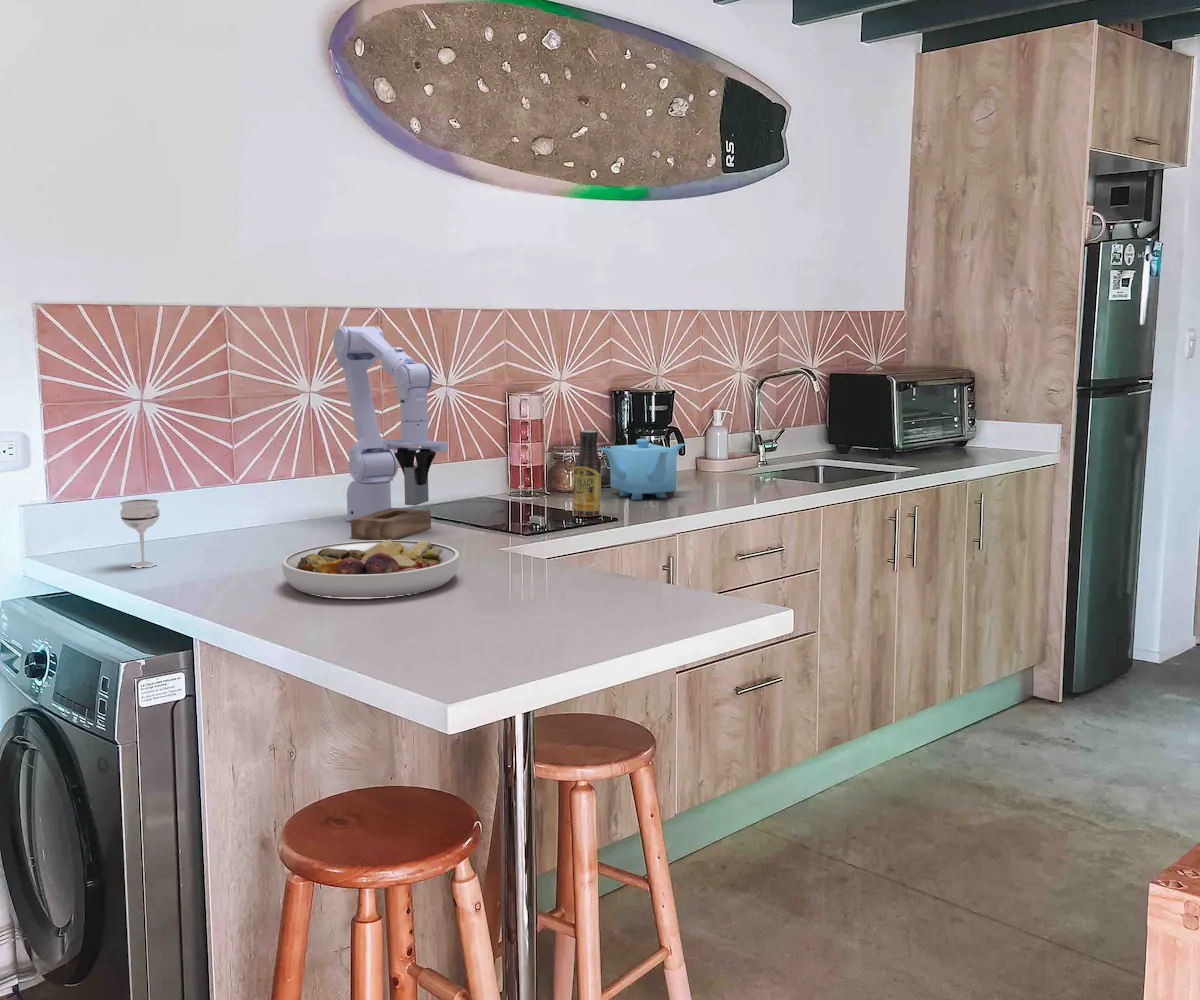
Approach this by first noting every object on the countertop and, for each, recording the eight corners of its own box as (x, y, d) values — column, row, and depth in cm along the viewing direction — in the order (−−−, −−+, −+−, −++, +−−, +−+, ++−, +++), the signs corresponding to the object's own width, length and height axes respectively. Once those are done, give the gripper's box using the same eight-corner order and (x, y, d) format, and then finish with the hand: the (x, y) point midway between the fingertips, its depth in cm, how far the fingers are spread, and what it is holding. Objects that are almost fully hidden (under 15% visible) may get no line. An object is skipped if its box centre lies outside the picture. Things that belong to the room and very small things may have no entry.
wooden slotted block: (351, 538, 241) (350, 519, 240) (391, 525, 255) (390, 507, 255) (393, 541, 237) (392, 522, 236) (431, 528, 252) (430, 510, 251)
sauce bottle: (568, 517, 264) (567, 431, 261) (581, 513, 270) (580, 429, 267) (593, 519, 261) (593, 432, 258) (606, 515, 267) (605, 430, 264)
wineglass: (170, 562, 217) (166, 499, 215) (147, 570, 211) (143, 505, 209) (139, 561, 219) (135, 498, 217) (116, 568, 213) (111, 504, 211)
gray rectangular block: (405, 504, 244) (404, 467, 243) (418, 500, 250) (417, 464, 249) (415, 505, 244) (414, 467, 242) (428, 501, 249) (427, 464, 248)
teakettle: (620, 489, 308) (620, 434, 305) (688, 492, 301) (688, 436, 299) (596, 500, 290) (596, 442, 288) (668, 503, 284) (668, 444, 282)
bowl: (275, 573, 209) (273, 531, 208) (438, 560, 219) (437, 520, 218) (293, 612, 181) (290, 563, 180) (478, 595, 191) (477, 549, 190)
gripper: (374, 421, 243) (376, 485, 245) (436, 423, 238) (437, 488, 240) (391, 418, 249) (393, 480, 251) (451, 420, 244) (453, 483, 246)
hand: (416, 484), depth 246 cm, fingers closed on gray rectangular block, 2 cm apart
